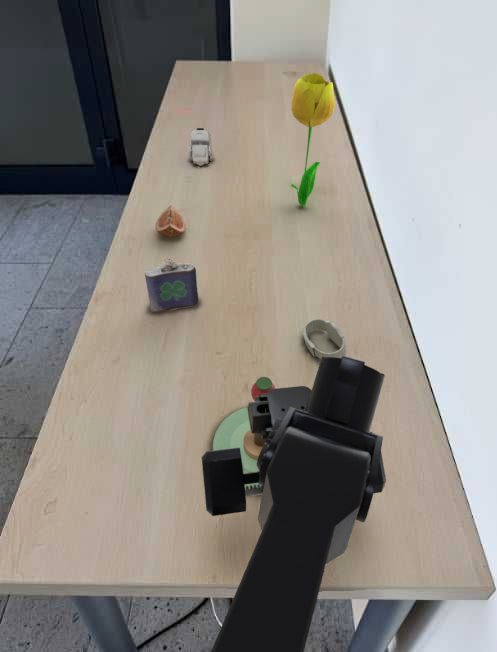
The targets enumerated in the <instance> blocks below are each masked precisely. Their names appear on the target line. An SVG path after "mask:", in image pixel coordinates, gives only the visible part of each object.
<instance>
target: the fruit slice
mask: <svg viewBox="0 0 497 652" xmlns="http://www.w3.org/2000/svg"><path fill="white" fill-rule="evenodd" d="M186 228H187V227H186V222H185V220H184V219H183V217H182V215H181V214H180V213H179V211H178V210H177V209H176V208H175V207H174V206H172V205H169V206H168V207H167V208H166V209H164V210H163V211H162V212H161V213H160V215H159V216H158V218H157V219H156V223H155V230H156V231H157V232H158V233H159V234H161V235H164V236H166V237H175V236H179V235H181V234H183V233H184V232H185V231H186Z"/></svg>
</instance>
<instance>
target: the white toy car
mask: <svg viewBox="0 0 497 652" xmlns="http://www.w3.org/2000/svg"><path fill="white" fill-rule="evenodd" d="M212 147H213V146H212V136H211V133H210V131H209V130H206V129H205V128H204V127H196V129H194V130H191V134H190V145H189V147H188V153H189V158H190V161H191V162H193V164H194V165H198V166H199V167H201V166H204V165H208V164H209V161H210V162H212V159H213V157H212V155H213V154H212V151H213V150H212Z"/></svg>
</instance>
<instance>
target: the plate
mask: <svg viewBox="0 0 497 652" xmlns="http://www.w3.org/2000/svg"><path fill="white" fill-rule="evenodd" d="M248 430H250V423H249V417H248V406H247V407H244V408H241V409H238V410H236V411H234V412H232V413H231V414H230V415H228V416H227V417H225V419H223V421H222V422H221V423H220V424H219V426H218V427H217V429H216V431H215V434H214V437H213V441H212V451H214V450H222V449H230V448H240V451H241V458H242V463H243V467H244V473H250V472H257V471H259V469H258V467H257V460H255V459H253V458H251V457H249V456H248V455H247V453H246V452H245V450H244V436H245V434H246V433H247V431H248ZM258 484H259V483H253V484H245V489H246V486H248V487H249V488H250V485H252V487H254V485H256V487H257V486H258ZM259 485H260V484H259ZM260 487H261V485H260Z"/></svg>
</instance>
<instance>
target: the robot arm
mask: <svg viewBox="0 0 497 652" xmlns="http://www.w3.org/2000/svg"><path fill="white" fill-rule="evenodd" d="M365 363H366V361H363V360H360V359H356V358H353V357H351V356H346V355H345V356H342V358H336V357H322V358H321V359H320V362H319V364H318V368H317V371H316V374H315V378H314V381H313V384H312V387H311V388H310V387H309V386H306V385H296V386H287V387H277V388H276V389H272V390H270V391H269V392H268V393H264V394H260V395H259V396H255V401H249V402H248V403H247V407H248V417H249V423H250V429H251V433H253V434H254V433H259V434H261V438H262V439H266V441H265V443H264V445H263V447H262V450H261V452H260V454H259V457H258V460H257V467H258V469H259V471H257V472H250V473H244V467H243V463H242V458H241V451H240V448H230V449H222V450H214V451H213V450H206V451H205V452H204V454H202V456H201V457H200V459H201V471H202V479H203V480H202V483H203V491H204V502H205V511H206V512H207V513H209V514H210V515H211V517H216V516H222V515H223V516H224V515H230V514H239V513H244V512H245V513H246V512H247V498H248V497H254V496H261V499H260V504H259V510H258V515H257V521H258V524H259V528H260V534H259V537H258V538H257V542H256V544H255V546H254V548H253V552H252V553H251V556H250V558H249V561H248V563H247V566H246V568H245V570H244V572H243V575H242V576H241V580H240V581H239V584H238V586H237V589H236V591H235V594H234V596H233V598H232V602H231V603H230V604H229V608H228V610H227V613H226V615H225V618H224V620H223V622H222V625H221V626H220V629H219V632H218V634H217V636H216V638H215V640H214V643H213V646H212V648H211V651H210V652H305V649H306V644H307V641H308V636H309V632H310V628H311V624H312V621H313V617H314V612H315V609H316V606H317V605H316V604H317V601H318V596H319V594H320V588H321V585H322V580H323V577H324V573H325V570H326V569H325V568H326V565H327V564H329V563H330V562H332V561H334V560H335V559H337V558H339V557H340V556H341V555H343V554H345V553H346V550H347V548H348V546H349V542H350V539H351V535H352V532H353V529H354V526H355V524H356V521H358V522H360V523H363V524H364V523H365V522H366V520H367V517H368V514H369V511H370V508H371V504H372V501H373V496H374V494H378V493H382V492H383V490H384V488H385V486H386V482H387V478H386V477H387V476H386V472H385V467H384V460H383V453H382V446H383V439H384V436H383V435H379V434H376V433H373V431H371V428H372V425H373V421H374V417H375V413H376V411H377V410H376V409H377V406H378V404H379V403H378V402H379V399H380V395H381V391H382V388H383V384H384V381H385V377H386V375H385V373H382V372H380V371H378V370H376V369H375V368H373V367H370V366H368V365H366V364H365ZM253 483H259V484H260V485H261V487H260V485H259V484H258V486H257V487H256V485H254V487H252V485H250V488H249V487H248V486H246V489H245V484H253Z"/></svg>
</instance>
